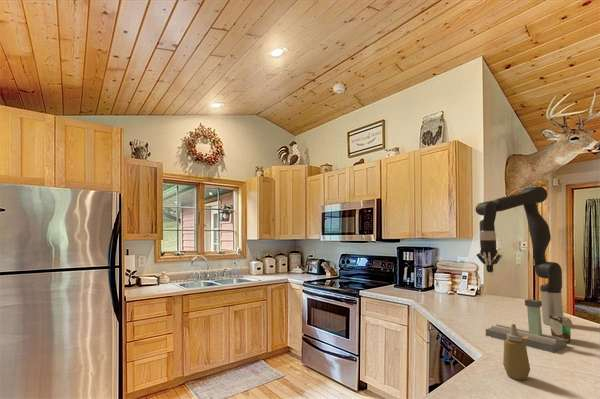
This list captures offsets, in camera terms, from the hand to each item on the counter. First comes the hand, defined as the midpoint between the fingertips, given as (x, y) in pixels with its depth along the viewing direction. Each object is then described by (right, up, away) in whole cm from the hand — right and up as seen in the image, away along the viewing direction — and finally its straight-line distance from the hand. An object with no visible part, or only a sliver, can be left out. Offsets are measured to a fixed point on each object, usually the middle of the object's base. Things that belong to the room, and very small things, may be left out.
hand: (490, 272), depth 178 cm
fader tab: (+6, -23, -26) cm, 35 cm away
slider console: (+3, -27, -22) cm, 35 cm away
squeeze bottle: (-25, -24, -60) cm, 69 cm away
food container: (+22, -27, -22) cm, 41 cm away
